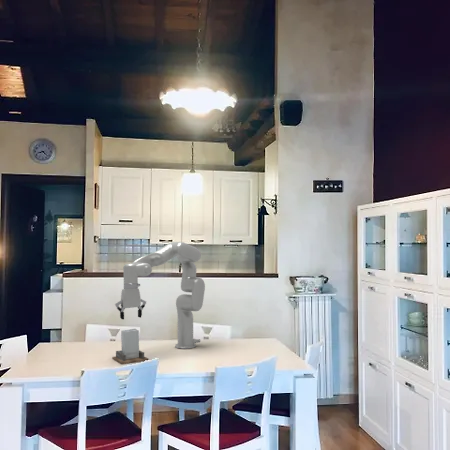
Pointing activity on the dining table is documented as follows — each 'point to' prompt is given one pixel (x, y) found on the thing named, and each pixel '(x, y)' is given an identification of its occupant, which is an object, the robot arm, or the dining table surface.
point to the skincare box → (130, 343)
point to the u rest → (122, 359)
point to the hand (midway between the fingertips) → (131, 318)
